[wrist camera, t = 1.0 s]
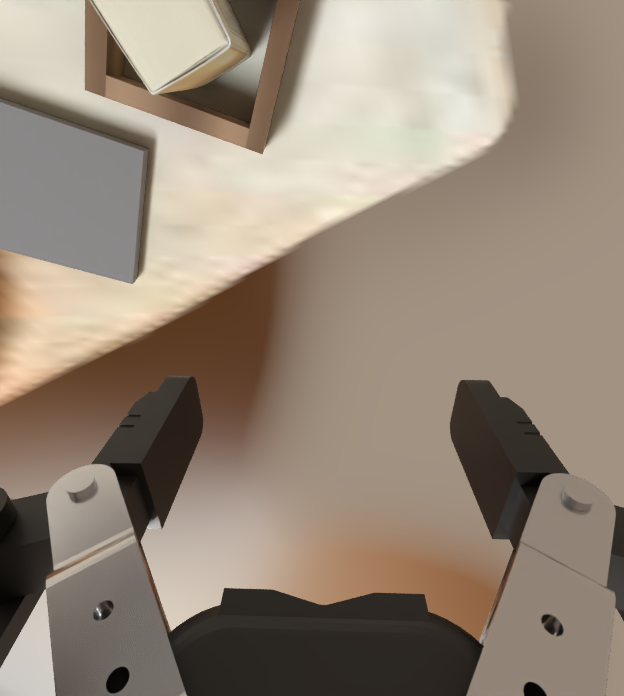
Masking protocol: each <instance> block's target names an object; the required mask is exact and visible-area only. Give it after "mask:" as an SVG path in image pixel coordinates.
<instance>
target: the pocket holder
mask: <svg viewBox="0 0 624 696" xmlns="http://www.w3.org/2000/svg"><path fill="white" fill-rule="evenodd" d="M299 4H300V0H277V3H276V7H275V12H274V17H273V21H272V26H271V31H270V35H269V40H268V45H267V49H266V54H265V58H264V63H263V68H262V72H261V77H260V82H259V86H258V91H257V96H256V100H255V105H254V110H253V114H252V119H251V123H250V124H249V123H247V122H244V121H241V120H239V119H236V118H233V117H231V116H228V115H226V114H223V113H220V112H218V111H215V110H212V109H210V108H207V107H204V106H202V105H199V104H196V103H194V102H191V101H189V100H186V99H183V98H181V97H178V96H175V95H173V94H170V93H163V94H157V95H152V94H151V93H150V92H149V90H148V89H147V87H146V86H145V84H144V83H141V82H138V81H136V80H133V79H130V78H128V77H125V76H124V60H125V55H124V53H123V52H122V50H121V49H120V47H119V46H118V44H117V43H116V41H115V39H114V38H113V36H112V35H111V33H110V32H109V30H108V29H107V27H106V26H105V24H104V22H103V21H102V19H101V18H100V16H99V15H98V13H97V12H96V10H95V8H94V7H93V5H92V4H91V2H90V1H89V0H85V90H87V91H89V92H92V93H95V94H98V95H100V96H103V97H106V98H109V99H112V100H114V101H117V102H120V103H123V104H125V105H128V106H131V107H134V108H136V109H139V110H142V111H145V112H147V113H150V114H153V115H156V116H158V117H161V118H164V119H167V120H169V121H172V122H175V123H178V124H180V125H183V126H186V127H189V128H191V129H194V130H197V131H200V132H202V133H205V134H208V135H211V136H213V137H216V138H219V139H222V140H224V141H227V142H230V143H233V144H235V145H238V146H241V147H244V148H247V149H249V150H252V151H255V152H258V153H260V154H263V151H264V149H265V145H266V141H267V137H268V133H269V129H270V125H271V120H272V116H273V112H274V108H275V104H276V100H277V96H278V91H279V87H280V83H281V79H282V75H283V71H284V67H285V62H286V58H287V54H288V50H289V46H290V42H291V38H292V33H293V29H294V25H295V21H296V17H297V13H298V9H299Z"/></svg>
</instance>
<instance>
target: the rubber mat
mask: <svg viewBox="0 0 624 696" xmlns="http://www.w3.org/2000/svg"><path fill="white" fill-rule="evenodd" d="M148 151H149V149H148V148H145V147H142V146H139V145H136V144H133V143H130V142H127V141H124V140H121V139H119V138H116V137H113V136H110V135H107V134H104V133H101V132H98V131H95V130H92V129H89V128H86V127H84V126H81V125H78V124H75V123H72V122H69V121H66V120H63V119H60V118H57V117H54V116H51V115H49V114H46V113H43V112H40V111H37V110H34V109H31V108H28V107H25V106H22V105H19V104H17V103H14V102H11V101H8V100H5V99H2V98H0V249H2V250H6V251H10V252H14V253H17V254H21V255H25V256H29V257H33V258H36V259H40V260H44V261H48V262H51V263H55V264H59V265H63V266H66V267H70V268H74V269H78V270H82V271H85V272H89V273H93V274H97V275H100V276H104V277H108V278H112V279H115V280H119V281H123V282H127V283H130V284H133V283H134V282H135V281H136V279H137V276H138V264H139V253H140V242H141V230H142V219H143V208H144V196H145V185H146V174H147V163H148Z"/></svg>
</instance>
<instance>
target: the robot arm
mask: <svg viewBox="0 0 624 696" xmlns="http://www.w3.org/2000/svg"><path fill="white" fill-rule="evenodd" d="M202 429H203V415H202V409H201V404H200V398H199V393H198V388H197V383H196V379H195V378H194V377H193V376H168V377H166V379H165V380H164V382H163V383H162V385H161V386H160V388H159V389H158V391H157V392H149V393H148V394H146V395H145V396H144V397H142V398H141V399H140V400H139V401H137V402H136V403H135V404H134V405H133V407H132V408H131V409H130V411H129V412H128V414H127V417H125V418H124V419H123V421H122V422H121V423H120V427H119V428H117V429H116V430H115V432H114V433H113V435H112V436H111V437H110V439H109V440H108V442H107V443H106V444H105V446H104V447H103V449H102V450H101V451H100V453H99V454H98V456H97V457H96V458H95V460H94V461H93V463H92V464H91V465H87V466H83V467H80V468H78V469H75V470H73V471H71V472H69V473H68V474H66V475H64V476H63V477H62V478H60V479H59V480H58V481H57V482H56V483H55V484H54V485H53V487H52V488H51V489H50V491H49V492H47V493H42V494H38V495H33V496H29V497H24V498H20V499H16V500H10V498H9V496H8V495H7V493H6V492H5V490H4V489H2V488H0V667H1V666H2V664H3V662H4V660H5V659H6V657H7V655H8V653H9V651H10V650H11V648H12V646H13V644H14V643H15V641H16V639H17V637H18V635H19V634H20V632H21V630H22V628H23V626H24V625H25V623H26V621H27V619H28V618H29V616H30V614H31V612H32V611H33V609H34V607H35V605H36V604H37V602H38V600H39V598H40V596H41V595H42V593H43V591H44V590H45V589H46V594H47V605H48V614H49V615H48V616H49V627H50V638H51V648H52V659H53V671H54V681H55V692H56V696H606V687H607V677H608V668H609V659H610V650H611V640H612V631H613V622H614V613H615V608H617V610H618V612H619V613H620V615H621V617H622V619H623V621H624V508H622V507H619V506H615V505H613V503H612V502H611V500H610V499H609V497H607V495H606V494H605V493H604V492H602V491H601V490H600V489H599V488H597V487H596V486H595V485H593V484H591V483H590V482H588V481H586V480H584V479H582V478H579V477H577V476H573V475H570V474H569V473H568V471H567V470H566V469H565V467H564V466H563V464H562V463H561V462H560V460H559V459H558V457H557V456H556V455H555V453H554V452H553V450H552V449H551V448H550V447H549V445H548V443H547V442H546V441H545V439H544V438H543V436H541V435H540V432H539V431H538V430H537V428H536V427H535V425H534V424H532V421H531V420H530V418H529V417H528V416H527V414H526V413H525V411H524V410H523V409H522V408H521V407H519V406H518V405H517V404H515V403H514V402H513V401H511V400H510V399H509V398H507V397H506V398H505V397H500V396H499V395H498V393H497V392H496V390H495V389H494V387H493V386H492V384H491V383H490V382H489V381H487V380H461V381H460V383H459V385H458V388H457V393H456V398H455V403H454V407H453V411H452V416H451V421H450V433H451V439H452V442H453V444H454V447H455V449H456V452H457V454H458V456H459V459H460V461H461V464H462V466H463V469H464V471H465V473H466V476H467V478H468V481H469V483H470V486H471V488H472V490H473V493H474V495H475V498H476V500H477V503H478V505H479V507H480V510H481V512H482V515H483V517H484V520H485V522H486V524H487V527H488V529H489V532H490V534H491V536H492V539H510V542H511V544H512V546H513V548H514V549H513V551H512V554H511V556H510V559H509V562H508V565H507V567H506V570H505V573H504V576H503V578H502V581H501V584H500V586H499V589H498V592H497V594H496V597H495V600H494V603H493V605H492V608H491V611H490V614H489V616H488V619H487V622H486V624H485V627H484V629H483V632H482V634H481V637H480V639H479V641H477V640H476V639H475V638H474V637H473V636H472V635H470V634H469V633H468V632H466V631H465V630H463V629H462V628H461V627H459V626H457V625H456V624H454V623H452V622H450V621H449V620H447V619H445V618H443V617H441V616H438V615H436V614H433V613H430V612H428V609H427V604H426V599H425V595H424V594H396V593H372V594H368V595H364V596H360V597H357V598H352V599H349V600H345V601H341V602H337V603H333V604H329V605H319V604H316V603H312V602H309V601H306V600H303V599H300V598H297V597H294V596H291V595H288V594H285V593H281V592H278V591H275V590H264V589H233V588H224V592H223V596H222V601H221V605H219V606H215V607H212V608H210V609H207V610H205V611H202V612H200V613H198V614H196V615H194V616H193V617H191V618H189V619H188V620H186V621H185V622H183V623H182V624H180V625H179V626H177V627H176V628H175V629H174V630H172V631H171V630H170V627H169V624H168V621H167V619H166V615H165V613H164V610H163V607H162V604H161V601H160V598H159V595H158V592H157V589H156V586H155V583H154V580H153V577H152V574H151V571H150V568H149V565H148V562H147V559H146V556H145V553H144V550H143V547H142V545H141V542H140V541H141V539H142V537H143V535H144V533H145V530H146V529H162V528H163V526H164V523H165V521H166V518H167V516H168V514H169V511H170V509H171V506H172V504H173V502H174V499H175V497H176V494H177V492H178V490H179V487H180V484H181V482H182V480H183V478H184V475H185V473H186V470H187V468H188V465H189V463H190V461H191V459H192V456H193V454H194V451H195V449H196V447H197V444H198V442H199V439H200V437H201V434H202Z"/></svg>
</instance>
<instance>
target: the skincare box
mask: <svg viewBox="0 0 624 696" xmlns="http://www.w3.org/2000/svg"><path fill="white" fill-rule="evenodd" d="M89 1H90V2H91V4H92V5H93V7H94V8H95V10H96V12H97V13H98V15H99V16H100V18H101V19H102V21H103V22H104V24H105V26H106V27H107V29H108V30H109V32H110V33H111V35H112V36H113V38H114V39H115V41H116V43H117V44H118V46H119V47H120V49H121V50H122V52H123V53H124V55H125V56H126V58H127V59H128V61H129V62H130V64H131V65H132V66H133V68H134V70H135V71H136V73H137V74H138V75H139V77H140V78H141V80H142V81H143V83H144V84H145V86H146V87H147V89H148V90H149V92H150V93H151V94H152V95H157V94H163V93H169V92H175V91H181V90H188V89H193V88H200V87H203V86H205V85H206V84H208V83H210V82H212V81H213V80H215V79H217V78H218V77H220V76H221V75H223V74H225V73H226V72H228V71H230V70H231V69H233V68H234V67H236V66H237V65H239V64H240V63H242V62H243V61H245V60H246V59H248V58H249V57H250V56H251V49H250V47H249V45H248V42H247V40H246V38H245V35H244V33H243V31H242V29H241V26H240V24H239V22H238V20H237V18H236V16H235V13H234V11H233V9H232V7H231V5H230V3H229V1H228V0H89Z"/></svg>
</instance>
